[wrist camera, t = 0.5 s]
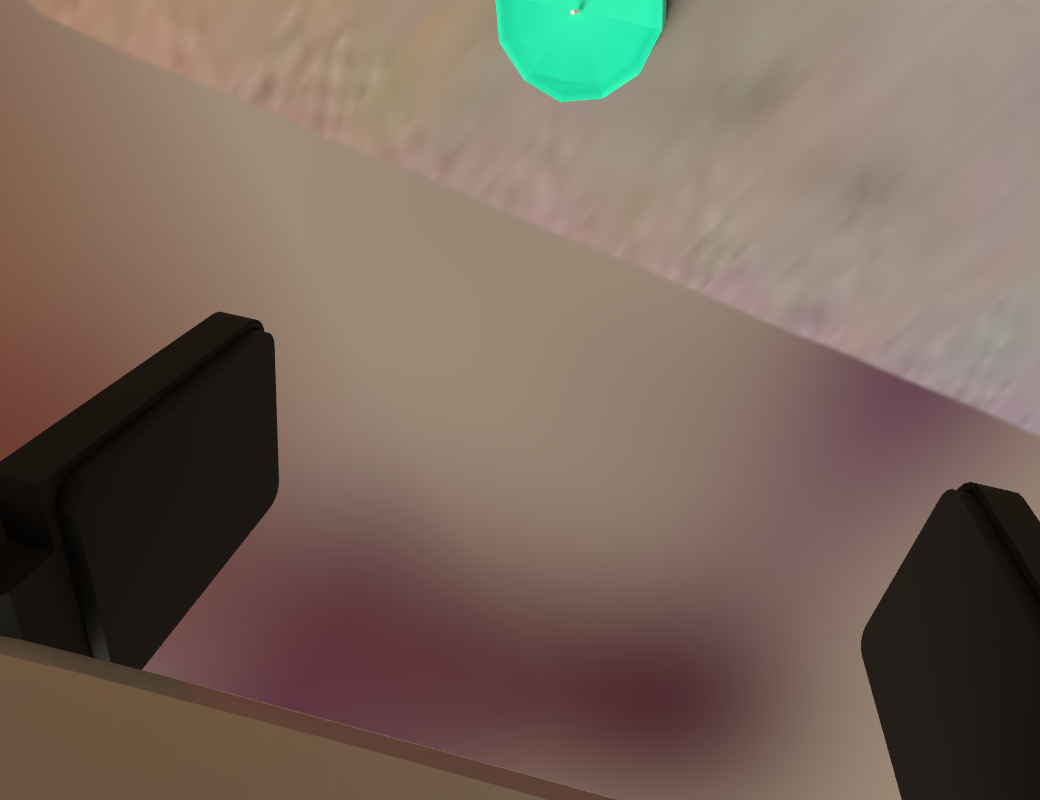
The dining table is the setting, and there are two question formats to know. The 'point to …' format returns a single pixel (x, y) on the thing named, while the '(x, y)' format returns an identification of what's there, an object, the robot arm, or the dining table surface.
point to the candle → (579, 42)
